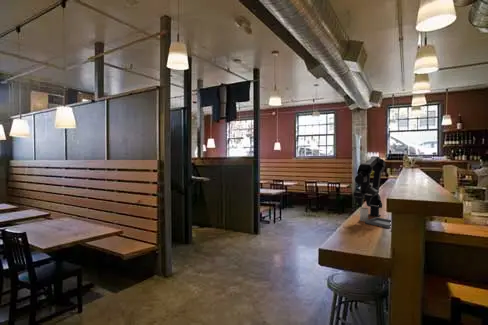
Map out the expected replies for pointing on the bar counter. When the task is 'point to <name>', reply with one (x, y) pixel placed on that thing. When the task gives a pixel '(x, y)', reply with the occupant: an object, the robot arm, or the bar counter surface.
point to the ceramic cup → (363, 214)
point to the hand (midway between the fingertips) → (364, 206)
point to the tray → (379, 222)
